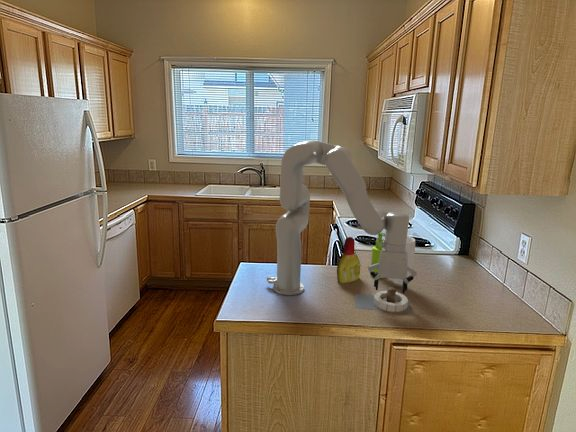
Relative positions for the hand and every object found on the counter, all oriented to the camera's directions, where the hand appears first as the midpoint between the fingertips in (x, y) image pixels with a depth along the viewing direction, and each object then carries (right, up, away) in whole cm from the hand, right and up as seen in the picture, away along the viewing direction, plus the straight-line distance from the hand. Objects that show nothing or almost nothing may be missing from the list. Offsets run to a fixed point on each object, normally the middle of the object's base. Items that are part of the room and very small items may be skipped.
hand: (389, 290), depth 148 cm
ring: (0, -5, +1) cm, 5 cm away
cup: (+8, -3, +17) cm, 19 cm away
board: (-2, -6, +2) cm, 7 cm away
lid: (0, -5, +1) cm, 5 cm away
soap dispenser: (+2, +1, +29) cm, 29 cm away
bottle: (-12, -1, +23) cm, 26 cm away
